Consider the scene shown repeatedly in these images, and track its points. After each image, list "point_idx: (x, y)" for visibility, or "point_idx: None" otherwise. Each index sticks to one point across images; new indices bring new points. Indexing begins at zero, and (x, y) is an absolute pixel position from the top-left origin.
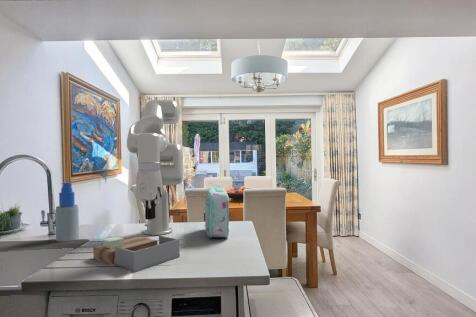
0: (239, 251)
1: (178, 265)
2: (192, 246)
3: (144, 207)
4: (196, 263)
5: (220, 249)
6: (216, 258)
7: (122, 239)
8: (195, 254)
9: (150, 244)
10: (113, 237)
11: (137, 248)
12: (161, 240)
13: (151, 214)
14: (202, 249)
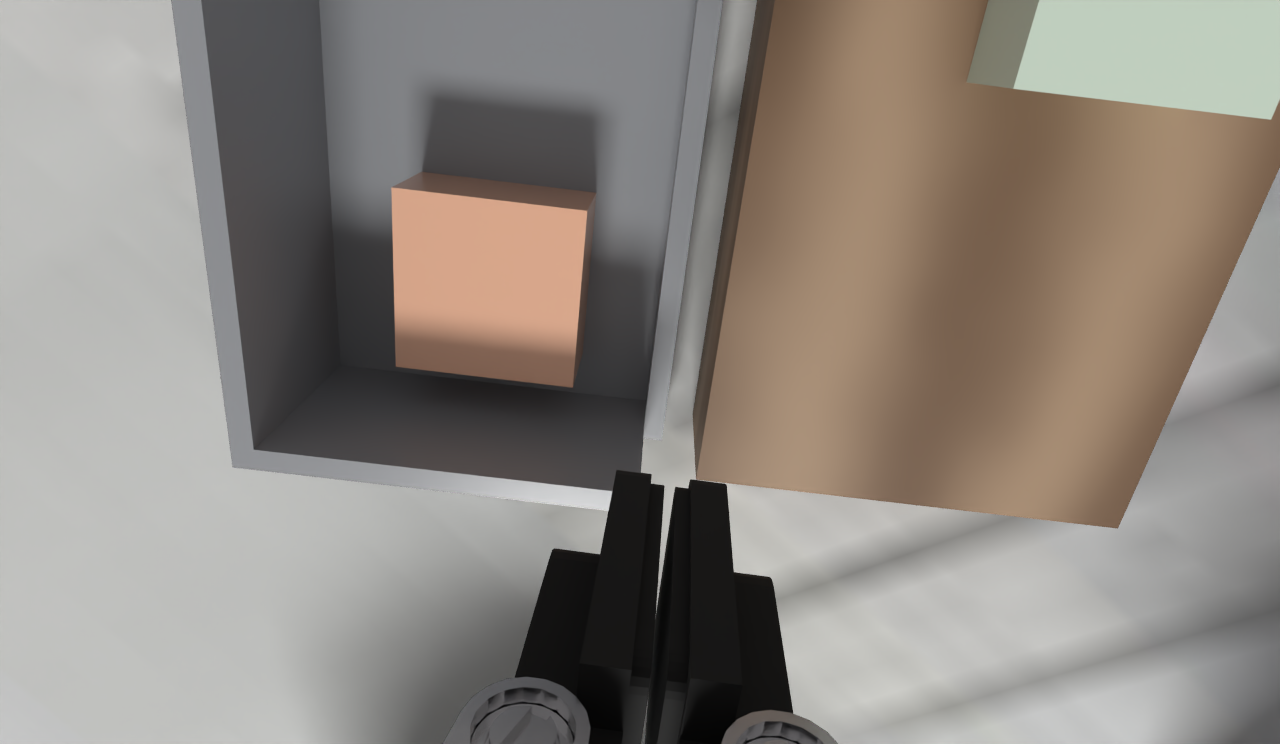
0: (29, 690)
1: (99, 152)
2: (494, 659)
3: (808, 726)
4: (18, 286)
5: (202, 678)
6: (9, 477)
7: (1015, 64)
8: (264, 490)
9: (710, 366)
10: (1265, 41)
11: (743, 164)
12: (584, 456)
13: (542, 591)
14: (336, 624)
